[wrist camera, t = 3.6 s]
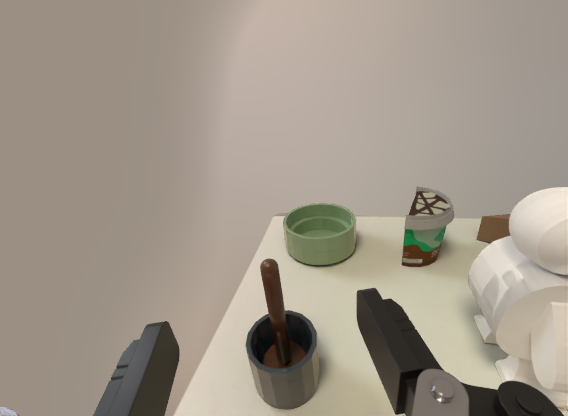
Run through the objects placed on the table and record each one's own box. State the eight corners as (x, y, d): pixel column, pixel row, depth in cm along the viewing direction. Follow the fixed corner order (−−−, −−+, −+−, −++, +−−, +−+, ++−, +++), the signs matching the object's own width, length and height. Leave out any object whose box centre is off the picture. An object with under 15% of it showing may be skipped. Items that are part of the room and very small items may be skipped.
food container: (443, 281, 41) (454, 224, 37) (400, 270, 44) (405, 216, 40) (447, 238, 50) (457, 189, 46) (411, 232, 53) (417, 185, 49)
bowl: (284, 269, 48) (280, 240, 45) (288, 230, 59) (285, 205, 57) (361, 266, 46) (361, 236, 43) (349, 226, 58) (349, 201, 55)
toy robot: (615, 439, 23) (781, 242, 14) (491, 417, 25) (567, 235, 16) (527, 311, 35) (587, 160, 26) (449, 304, 37) (479, 163, 28)
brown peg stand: (263, 393, 29) (235, 280, 22) (268, 351, 33) (246, 246, 26) (308, 393, 28) (294, 278, 21) (307, 351, 33) (296, 243, 26)
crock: (249, 409, 28) (239, 373, 25) (260, 344, 35) (252, 311, 32) (321, 410, 27) (318, 373, 25) (318, 344, 34) (315, 309, 31)
